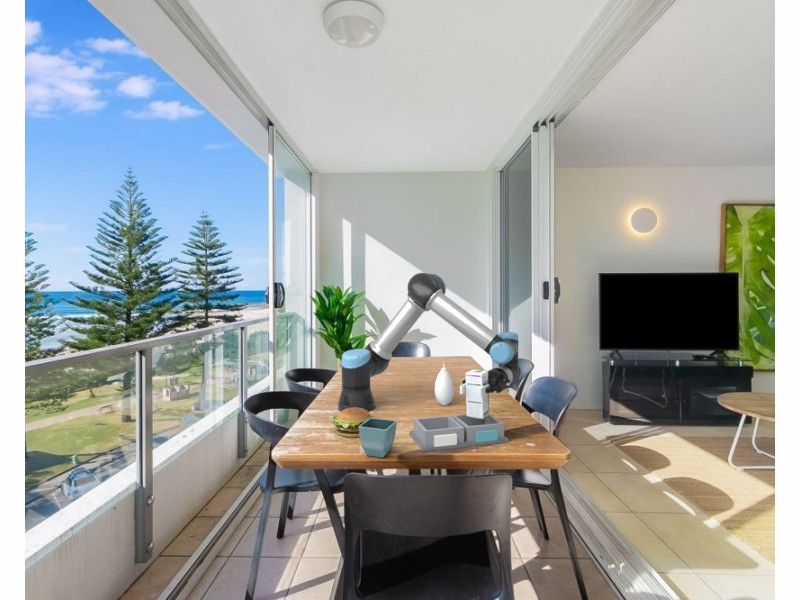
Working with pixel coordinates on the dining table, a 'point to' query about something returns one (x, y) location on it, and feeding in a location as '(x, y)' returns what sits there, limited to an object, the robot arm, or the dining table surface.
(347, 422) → the food
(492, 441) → the sorting bin tray
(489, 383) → the robot arm
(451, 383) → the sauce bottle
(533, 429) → the dining table surface
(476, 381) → the syrup box
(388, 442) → the flower pot
